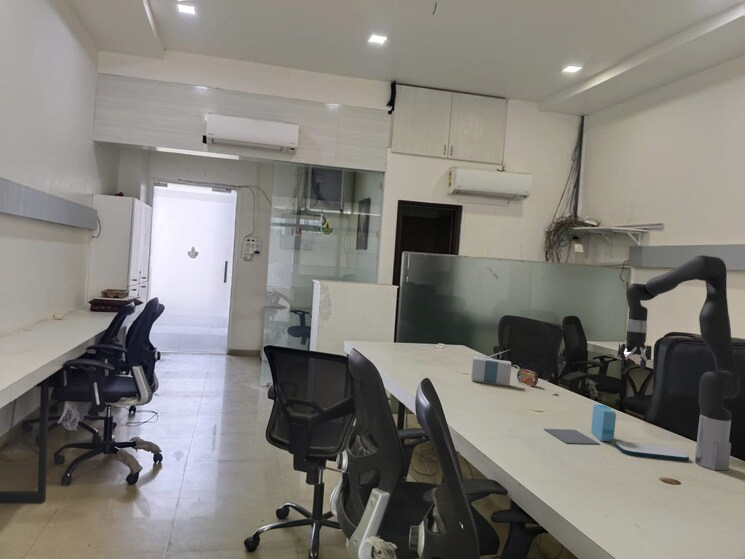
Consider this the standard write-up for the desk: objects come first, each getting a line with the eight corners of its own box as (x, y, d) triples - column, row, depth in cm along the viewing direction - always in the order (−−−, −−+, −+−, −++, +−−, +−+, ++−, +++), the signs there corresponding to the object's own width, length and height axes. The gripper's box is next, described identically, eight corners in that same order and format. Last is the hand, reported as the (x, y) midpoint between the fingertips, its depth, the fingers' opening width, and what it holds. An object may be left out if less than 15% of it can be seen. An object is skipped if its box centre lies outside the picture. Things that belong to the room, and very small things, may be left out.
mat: (599, 444, 196) (599, 443, 196) (566, 443, 193) (566, 442, 193) (575, 430, 212) (575, 429, 212) (543, 429, 209) (543, 428, 209)
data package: (613, 443, 199) (616, 412, 199) (601, 442, 199) (604, 411, 199) (602, 433, 211) (605, 404, 211) (590, 432, 211) (593, 403, 211)
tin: (516, 381, 304) (517, 367, 304) (520, 381, 305) (521, 367, 305) (534, 387, 290) (535, 372, 290) (538, 387, 291) (539, 372, 291)
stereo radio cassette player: (470, 381, 291) (474, 346, 291) (472, 379, 299) (475, 344, 299) (509, 387, 285) (512, 351, 285) (509, 384, 293) (513, 349, 293)
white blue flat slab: (624, 456, 186) (624, 450, 186) (611, 445, 198) (612, 440, 198) (692, 463, 185) (692, 458, 185) (675, 452, 196) (676, 447, 196)
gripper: (627, 330, 215) (624, 369, 215) (657, 332, 218) (654, 371, 218) (615, 328, 222) (612, 366, 222) (645, 330, 225) (642, 368, 225)
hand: (633, 368), depth 220 cm, fingers open, 8 cm apart
